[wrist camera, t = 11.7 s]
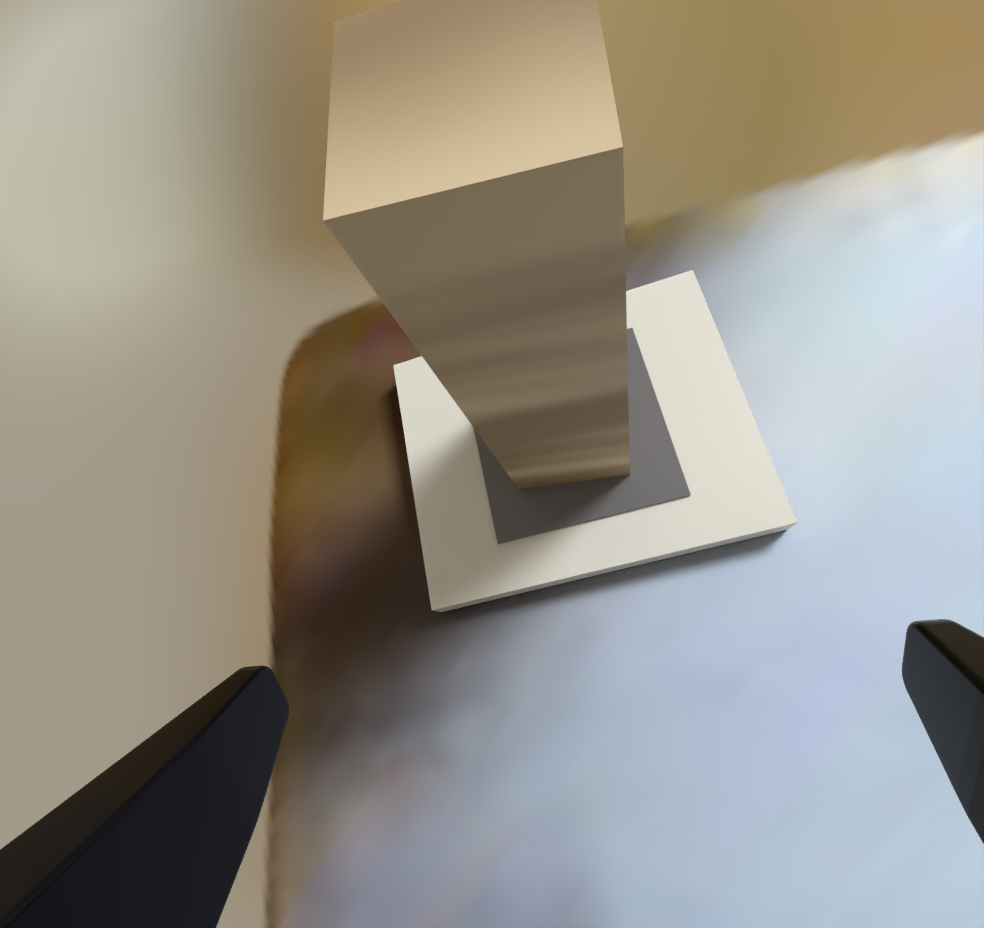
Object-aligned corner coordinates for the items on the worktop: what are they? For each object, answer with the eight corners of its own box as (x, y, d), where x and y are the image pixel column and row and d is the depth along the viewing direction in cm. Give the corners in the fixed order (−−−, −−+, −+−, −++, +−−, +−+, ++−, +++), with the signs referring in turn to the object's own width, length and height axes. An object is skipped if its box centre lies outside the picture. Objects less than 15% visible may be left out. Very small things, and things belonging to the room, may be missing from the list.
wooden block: (629, 475, 17) (623, 146, 6) (518, 488, 18) (323, 220, 7) (615, 373, 18) (585, -61, 7) (510, 390, 19) (334, 21, 8)
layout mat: (689, 287, 20) (692, 268, 19) (788, 529, 16) (798, 521, 15) (403, 377, 21) (392, 364, 20) (441, 611, 18) (430, 609, 17)
